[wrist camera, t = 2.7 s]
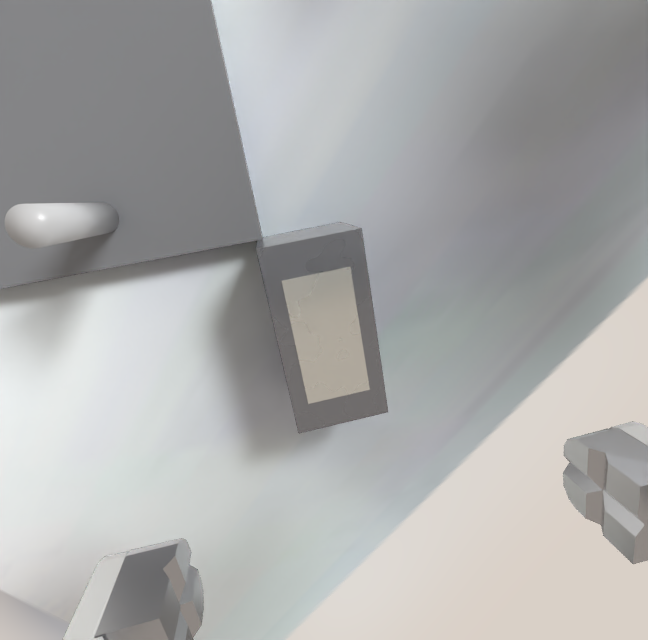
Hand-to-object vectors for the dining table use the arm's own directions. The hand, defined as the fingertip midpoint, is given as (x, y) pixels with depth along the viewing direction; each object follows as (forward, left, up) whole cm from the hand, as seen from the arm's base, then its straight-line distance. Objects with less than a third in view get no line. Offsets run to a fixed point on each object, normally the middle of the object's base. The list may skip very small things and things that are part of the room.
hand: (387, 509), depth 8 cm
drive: (0, 0, -15) cm, 15 cm away
